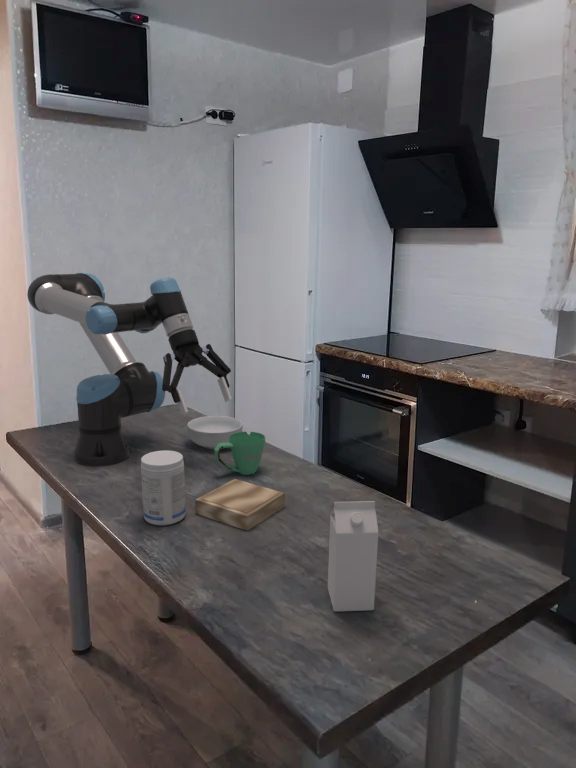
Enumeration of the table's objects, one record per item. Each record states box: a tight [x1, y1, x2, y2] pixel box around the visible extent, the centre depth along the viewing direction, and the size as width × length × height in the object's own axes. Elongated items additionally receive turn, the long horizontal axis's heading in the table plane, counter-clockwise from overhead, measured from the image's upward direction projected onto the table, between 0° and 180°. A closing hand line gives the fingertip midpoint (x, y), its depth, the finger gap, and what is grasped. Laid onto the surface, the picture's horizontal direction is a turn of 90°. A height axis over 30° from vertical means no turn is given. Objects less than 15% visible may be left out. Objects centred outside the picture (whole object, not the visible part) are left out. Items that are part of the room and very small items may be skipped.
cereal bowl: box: [186, 415, 244, 450], centre depth 185 cm, size 17×17×7 cm
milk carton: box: [327, 500, 379, 612], centre depth 105 cm, size 7×7×19 cm
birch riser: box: [194, 478, 286, 532], centre depth 142 cm, size 15×15×4 cm
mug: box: [213, 431, 266, 476], centre depth 163 cm, size 15×10×10 cm
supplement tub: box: [140, 449, 187, 526], centre depth 136 cm, size 10×10×15 cm
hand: (207, 406), depth 160 cm, fingers open, 13 cm apart
